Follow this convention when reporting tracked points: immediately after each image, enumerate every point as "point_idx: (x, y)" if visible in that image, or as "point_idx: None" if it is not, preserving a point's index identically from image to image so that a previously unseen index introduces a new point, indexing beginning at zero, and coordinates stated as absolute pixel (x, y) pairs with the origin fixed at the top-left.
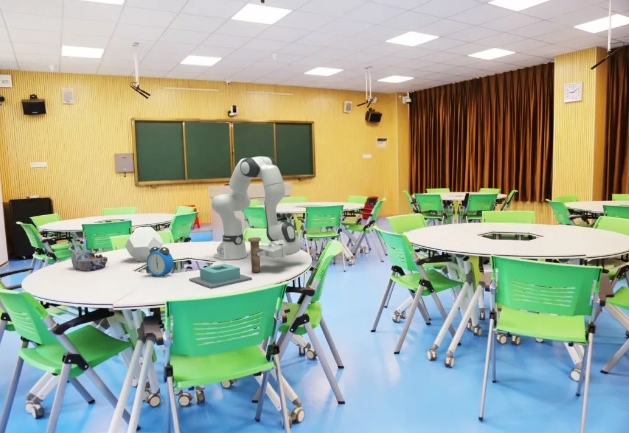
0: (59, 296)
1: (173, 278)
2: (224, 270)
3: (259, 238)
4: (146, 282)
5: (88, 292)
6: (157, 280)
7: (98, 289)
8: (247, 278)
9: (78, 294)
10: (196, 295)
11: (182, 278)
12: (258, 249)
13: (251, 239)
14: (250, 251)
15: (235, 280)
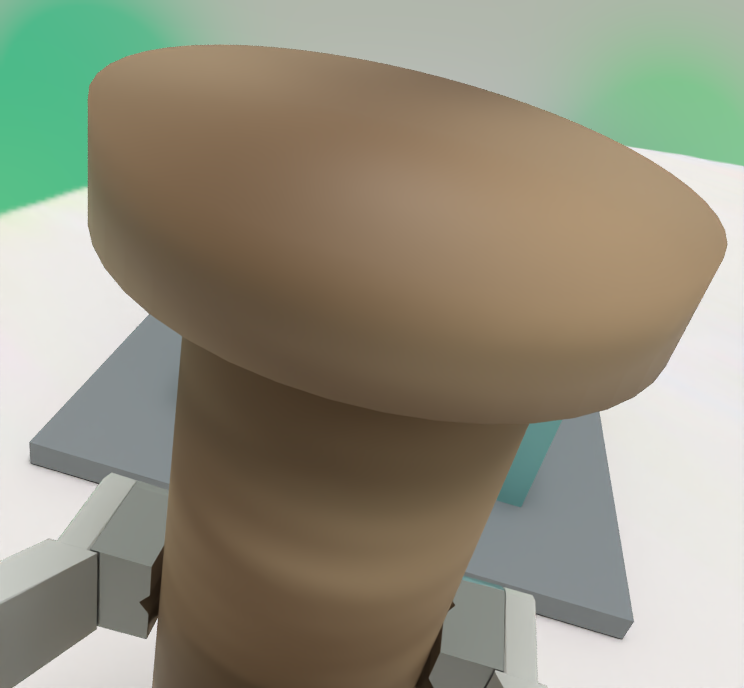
0: (695, 164)
1: (733, 352)
2: None
3: (139, 109)
4: (725, 280)
5: (690, 186)
6: (738, 310)
7: (719, 206)
8: (68, 405)
9: (682, 174)
10: None
11: (689, 363)
12: (167, 510)
13: (336, 56)
14: (493, 587)
15: (162, 335)
